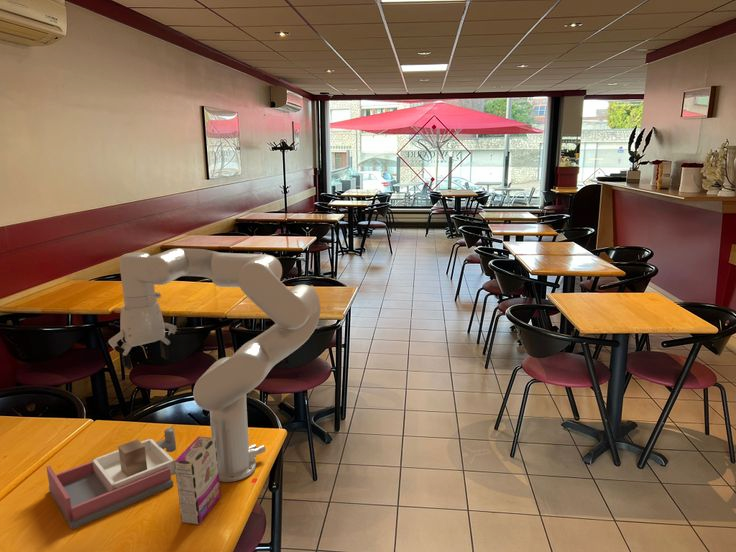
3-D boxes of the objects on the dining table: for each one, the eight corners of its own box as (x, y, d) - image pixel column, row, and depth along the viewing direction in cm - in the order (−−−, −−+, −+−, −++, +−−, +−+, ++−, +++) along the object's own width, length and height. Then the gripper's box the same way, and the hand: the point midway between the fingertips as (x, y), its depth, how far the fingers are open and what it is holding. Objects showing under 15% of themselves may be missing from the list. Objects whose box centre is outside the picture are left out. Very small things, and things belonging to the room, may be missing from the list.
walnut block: (140, 462, 145) (137, 439, 143) (147, 470, 141) (144, 446, 140) (121, 469, 142) (118, 446, 140) (127, 478, 138) (124, 453, 137)
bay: (143, 455, 153) (140, 431, 152) (173, 485, 139) (170, 459, 137) (49, 491, 137) (45, 465, 136) (71, 529, 123) (67, 501, 121)
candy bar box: (203, 494, 135) (198, 435, 132) (221, 496, 134) (216, 437, 131) (179, 523, 125) (173, 460, 121) (199, 526, 124) (193, 462, 120)
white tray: (169, 444, 156) (166, 422, 154) (192, 466, 145) (190, 443, 143) (94, 473, 142) (90, 449, 141) (114, 499, 131) (110, 474, 129)
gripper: (167, 292, 146) (172, 351, 150) (99, 304, 134) (107, 368, 138) (178, 297, 141) (184, 358, 144) (109, 310, 129) (117, 376, 133)
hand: (147, 362), depth 141 cm, fingers open, 9 cm apart
